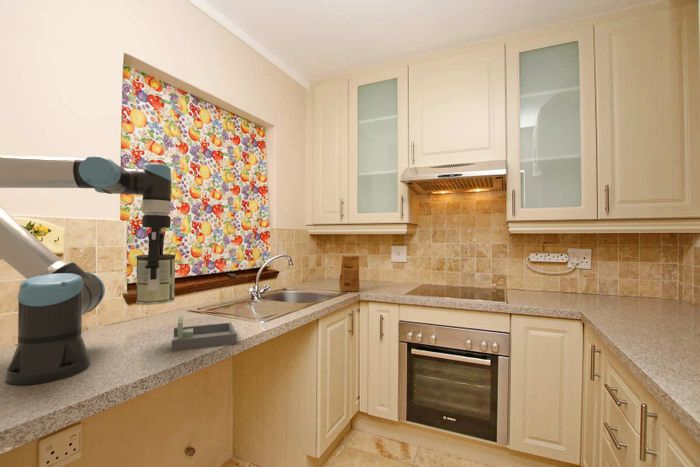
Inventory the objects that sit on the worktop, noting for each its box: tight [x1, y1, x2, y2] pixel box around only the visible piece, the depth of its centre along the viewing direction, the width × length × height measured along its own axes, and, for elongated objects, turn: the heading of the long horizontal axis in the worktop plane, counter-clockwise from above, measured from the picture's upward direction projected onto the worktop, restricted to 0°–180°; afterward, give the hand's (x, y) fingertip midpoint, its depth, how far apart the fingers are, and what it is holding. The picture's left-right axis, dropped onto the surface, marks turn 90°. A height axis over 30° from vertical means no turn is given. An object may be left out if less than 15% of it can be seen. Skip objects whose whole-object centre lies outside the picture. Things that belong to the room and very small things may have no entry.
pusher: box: [177, 313, 193, 339], centre depth 105 cm, size 4×12×7 cm, turn 26°
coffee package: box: [339, 255, 360, 292], centre depth 206 cm, size 10×12×22 cm
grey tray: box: [170, 322, 237, 352], centre depth 107 cm, size 18×15×3 cm
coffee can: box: [135, 253, 176, 306], centre depth 101 cm, size 10×10×14 cm
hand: (155, 287), depth 101 cm, fingers closed on coffee can, 10 cm apart
